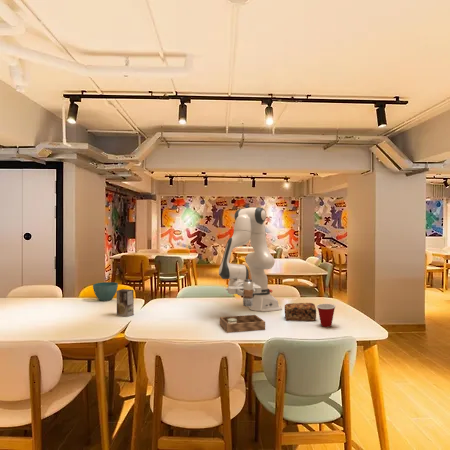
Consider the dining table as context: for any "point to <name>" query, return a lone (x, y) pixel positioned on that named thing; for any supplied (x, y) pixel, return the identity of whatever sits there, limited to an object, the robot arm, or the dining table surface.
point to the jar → (232, 320)
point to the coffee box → (125, 302)
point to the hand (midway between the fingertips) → (248, 292)
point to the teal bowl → (105, 290)
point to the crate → (242, 323)
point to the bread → (300, 312)
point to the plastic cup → (326, 314)
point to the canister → (248, 292)
